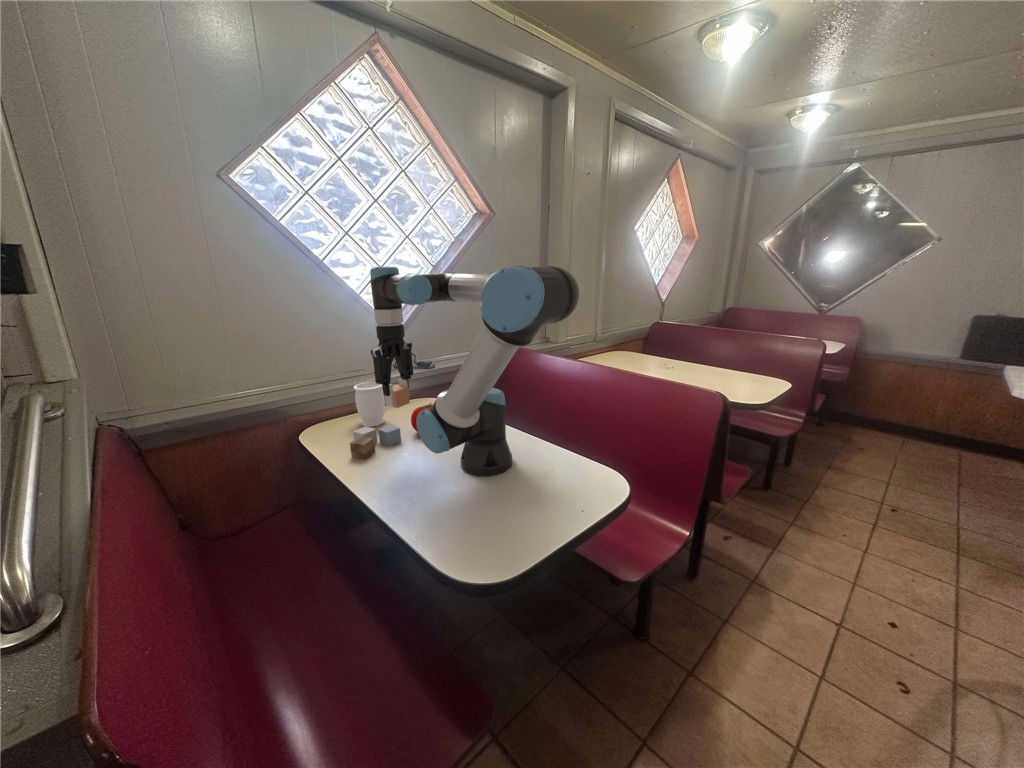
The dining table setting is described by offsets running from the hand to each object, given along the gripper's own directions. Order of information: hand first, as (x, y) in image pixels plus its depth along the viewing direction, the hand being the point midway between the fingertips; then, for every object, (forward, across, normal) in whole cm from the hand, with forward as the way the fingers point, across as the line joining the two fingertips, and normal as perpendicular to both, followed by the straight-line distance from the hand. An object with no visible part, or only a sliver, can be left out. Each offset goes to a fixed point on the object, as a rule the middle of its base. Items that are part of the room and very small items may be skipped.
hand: (397, 402), depth 117 cm
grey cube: (+18, -1, -18) cm, 25 cm away
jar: (+18, -15, -31) cm, 39 cm away
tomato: (+18, -19, -6) cm, 27 cm away
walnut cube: (+18, +5, -12) cm, 22 cm away
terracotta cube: (0, 0, 0) cm, 0 cm away
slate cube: (+18, -6, -12) cm, 22 cm away
